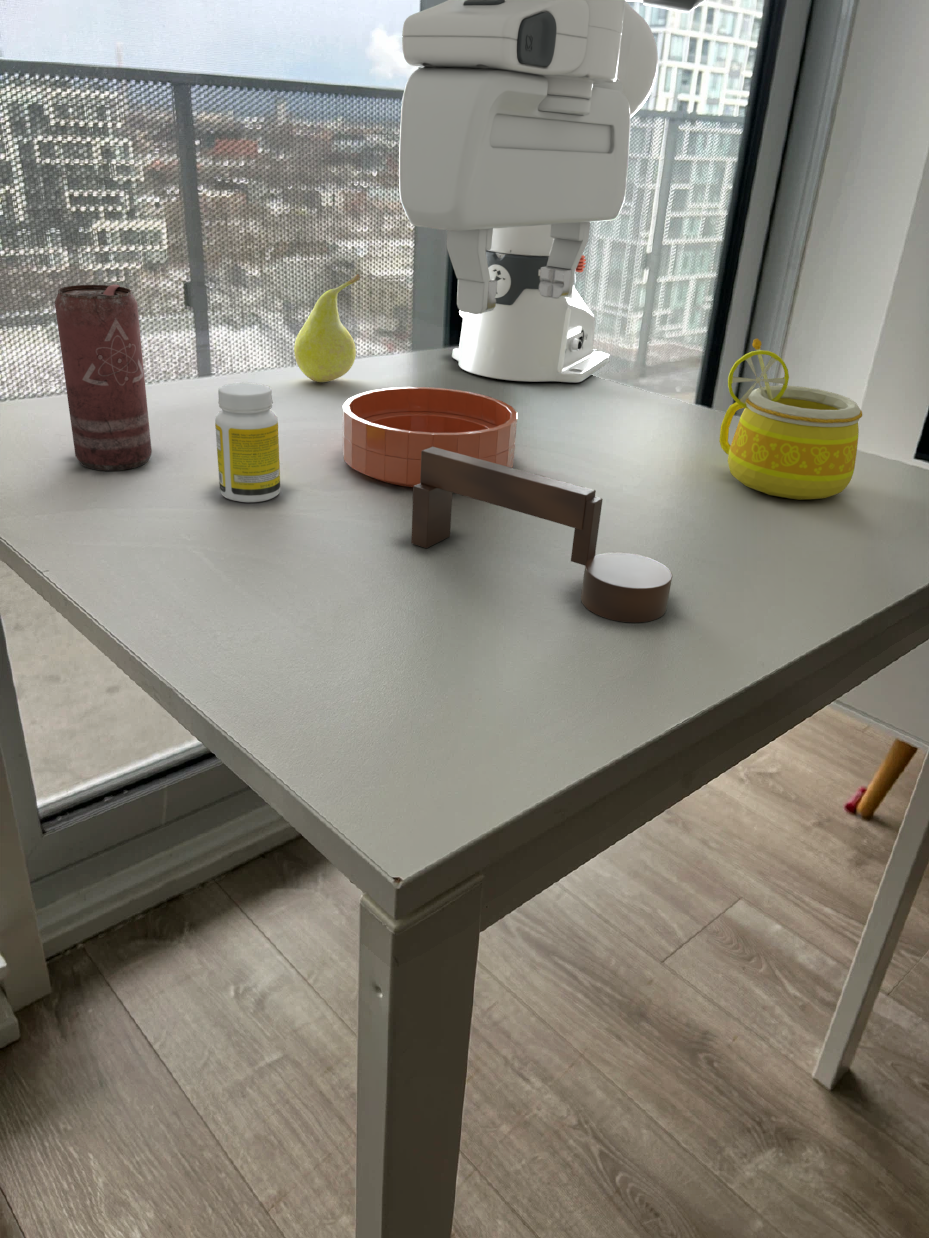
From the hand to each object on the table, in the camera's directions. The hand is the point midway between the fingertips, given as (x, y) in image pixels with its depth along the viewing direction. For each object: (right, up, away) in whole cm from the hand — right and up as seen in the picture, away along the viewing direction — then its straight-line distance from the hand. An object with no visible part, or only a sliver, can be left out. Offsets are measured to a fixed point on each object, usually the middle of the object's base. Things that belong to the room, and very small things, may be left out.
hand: (517, 304), depth 58 cm
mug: (+25, -7, +28) cm, 38 cm away
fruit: (-19, +8, +51) cm, 55 cm away
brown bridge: (+2, -16, +7) cm, 18 cm away
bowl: (-7, -6, +26) cm, 28 cm away
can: (-33, -6, +22) cm, 40 cm away
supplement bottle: (-20, -10, +17) cm, 28 cm away
